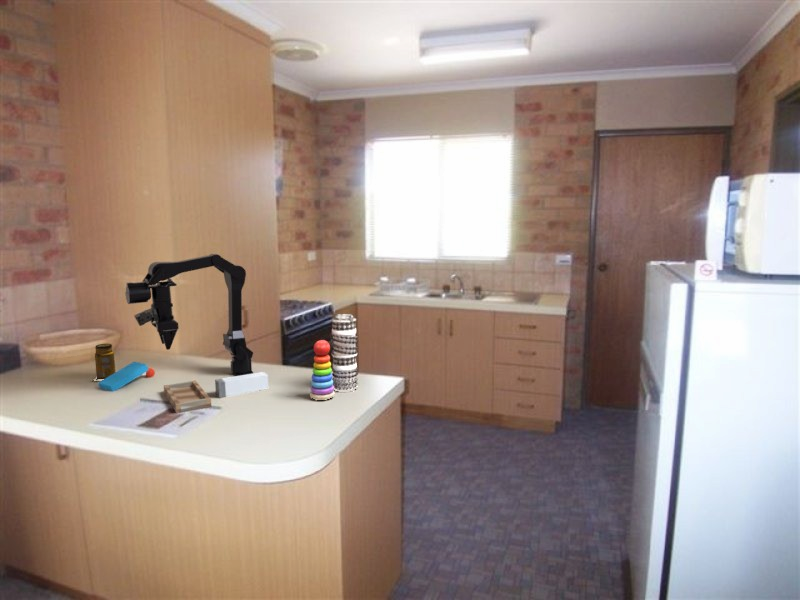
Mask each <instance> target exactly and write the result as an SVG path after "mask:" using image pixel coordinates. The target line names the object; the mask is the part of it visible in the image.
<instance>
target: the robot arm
mask: <svg viewBox="0 0 800 600" xmlns="http://www.w3.org/2000/svg"><path fill="white" fill-rule="evenodd" d="M211 267H214V268H216V270H218V271H219V272H221V273H222V274H223V278H224V282H225V285H226V288H227V291H228V292H227V293H228V298H227V299H228V300H227V301H228V306H227V307H228V329H227V332H226V333H222V339H223V342H222V345H223V346H224V348H225V350H226V351H227V352H229V353H230V355H231V361H230V373H232V374H233V376H241V375H247V374H253V373H254V371H252V370H253V369H252V358H253V355H254V351H252V350H251V349H250V348H249V347H247V341H246V337H245V334H244V331H243V328H242V327H243V320H242V319H243V318H242V317H243V316H242V315H243V314H242V313H243V309H242V306H243V305H242V302H243V301H242V299H243V298H242V297H243V296H242V290H243V288H244V285H245V283H246V277H247V272H246V269H245V268H244V267H243V266H241V265H239V264H238V265H237V264H233V263H232V262H231V261H229V260H227V259H225V258H224V257H223V256H221V255H220V254H216V253H210V254H208V255H204V256H198V257H193V258H189V259H184V260H178V261H155V262H152V263H150V265H149V266H148V269H147V274H146V275H145V276H144V278H143V280H142V281H138V282H137V281H136V282H131V281H129V282H126V284H125V285H126V287H125V292H124V293H125V300H126V303H127V304H128V305H132V304H140V303H148V302H149V300H151V301H152V303H151V304H150V308H148V309H145V310H143V311H141V312H139V313H137V314H134V318H135V321H136V322H137V324H138V325H139V326H140V327H141V326H144V325H145V324H147V323H149V322H150V323H151V325H152V326H153V327H154V328H156V332H158V336H159V338H160V342H161V344H162V345H164V346H165V349H166V350H171V347H172V345H173V341H174V340H175V338H176V334H177V332H178V330H179V322H178V321H176V320H175V317H174V316H175V315H174V314H173V307H174V305H173V303H172V294H171V292H172V291H171V287H177V283H176V282H174V281H173V280H172V278H174V277H176V276H178V275H180V274H183V273H186V272H191V271H197V270H202V269H207V268H211Z"/></svg>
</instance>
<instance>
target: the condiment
mask: <svg viewBox="0 0 800 600" xmlns="http://www.w3.org/2000/svg"><path fill="white" fill-rule="evenodd" d="M94 348H95V350H94V351H95V353H94V361H95V374H96V376H97V379H105V378H107V377H109V376H110V375H112V374H114V373H115V372H116V364H115V352H114V350H113V345H112V343H100V344H99V343H98V344H96V345H95V346H94ZM92 381H94V380H93V379H92V380H90V382H91V383H93V382H92Z"/></svg>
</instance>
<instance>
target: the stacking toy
mask: <svg viewBox="0 0 800 600" xmlns="http://www.w3.org/2000/svg"><path fill="white" fill-rule="evenodd" d="M330 345H331V344H330V343H329V342H328V341H327V340H325V339H321V340H318V341H316V342H315V343H314V345H313V352H314V353H315V354H316V355H314V357H313V361H314V363H313V369H312V375H311V379H312V380H311V382H310V384H311V386H310V392H309V397H310V398H311V399H312V398H313V399H317V400H325V399H330V398H332V397H333V398H334V397H335V396H336V392H335V391H334V386H333V380H332V378H333V376H332V373H333V372H332V369H333V368H332V367H331V366H332V362H331V361H330V360H331V356H330V355H329V353H330V350H331V346H330ZM333 398H332V399H333ZM313 399H312V400H313ZM317 400H316V401H317ZM330 400H331V399H330Z"/></svg>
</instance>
